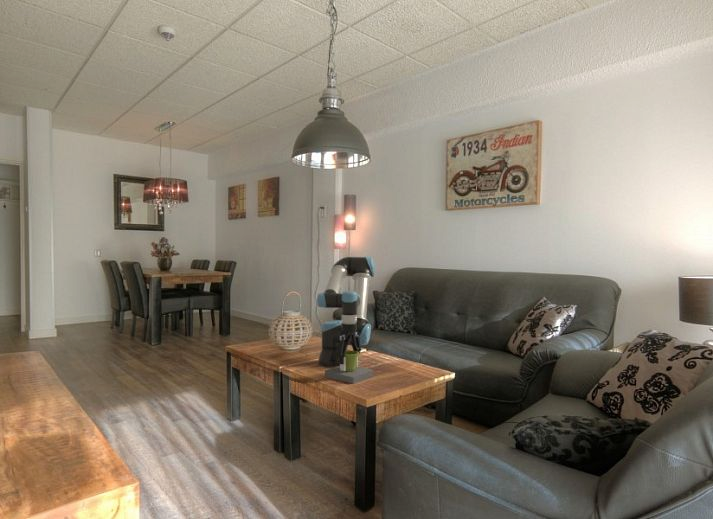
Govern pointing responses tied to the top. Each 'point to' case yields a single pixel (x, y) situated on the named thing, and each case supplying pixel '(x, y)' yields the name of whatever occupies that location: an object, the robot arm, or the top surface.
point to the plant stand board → (349, 374)
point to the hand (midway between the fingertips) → (349, 368)
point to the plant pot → (351, 360)
